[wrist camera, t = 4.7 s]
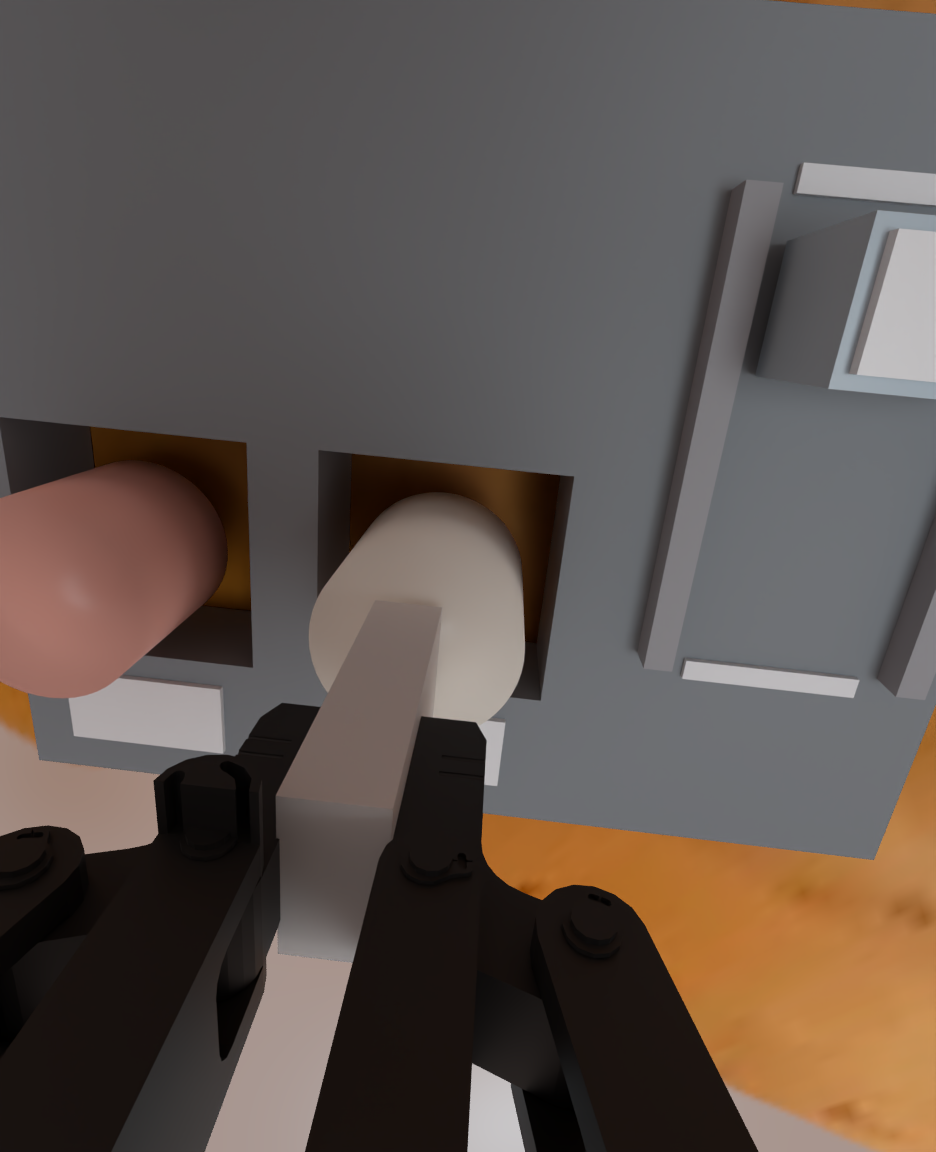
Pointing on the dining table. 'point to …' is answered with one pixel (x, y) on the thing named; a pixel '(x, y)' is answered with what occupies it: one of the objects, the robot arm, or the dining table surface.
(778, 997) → the dining table surface
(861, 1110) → the dining table surface
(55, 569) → the button coral
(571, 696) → the console
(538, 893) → the dining table surface
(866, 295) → the slider knob
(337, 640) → the button ivory
